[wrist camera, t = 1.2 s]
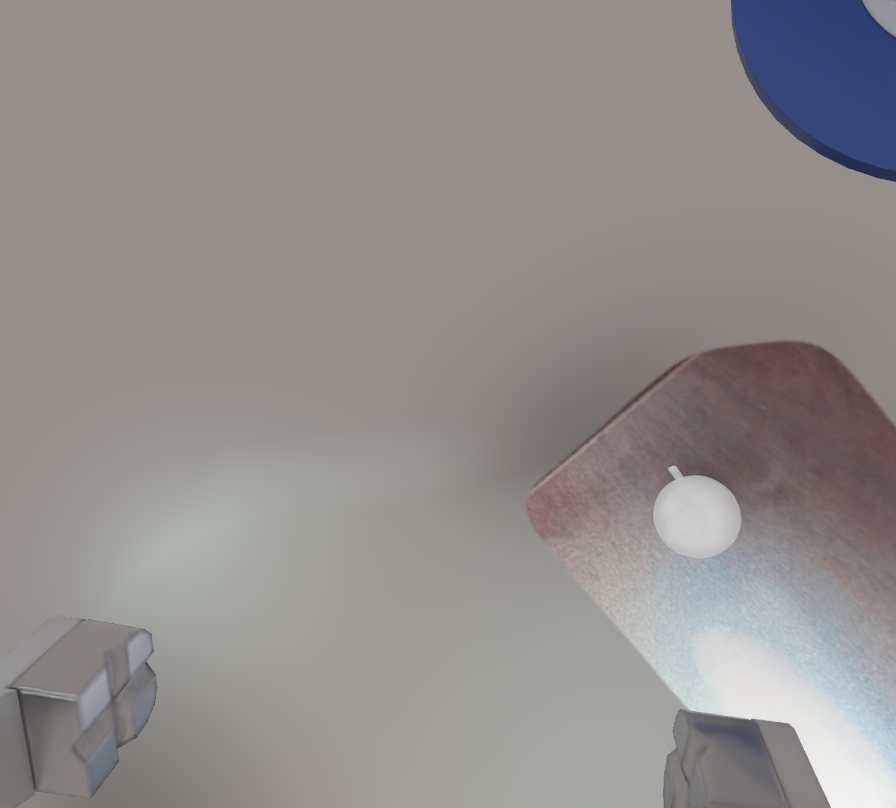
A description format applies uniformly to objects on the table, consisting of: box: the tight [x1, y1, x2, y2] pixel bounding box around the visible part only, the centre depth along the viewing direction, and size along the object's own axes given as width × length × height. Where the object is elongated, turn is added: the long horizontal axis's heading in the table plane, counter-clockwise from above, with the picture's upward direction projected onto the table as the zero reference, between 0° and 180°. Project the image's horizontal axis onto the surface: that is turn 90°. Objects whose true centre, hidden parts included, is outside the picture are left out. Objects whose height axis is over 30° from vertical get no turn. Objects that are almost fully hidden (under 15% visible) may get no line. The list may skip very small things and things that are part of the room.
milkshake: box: [653, 465, 742, 559], centre depth 40 cm, size 4×5×10 cm
